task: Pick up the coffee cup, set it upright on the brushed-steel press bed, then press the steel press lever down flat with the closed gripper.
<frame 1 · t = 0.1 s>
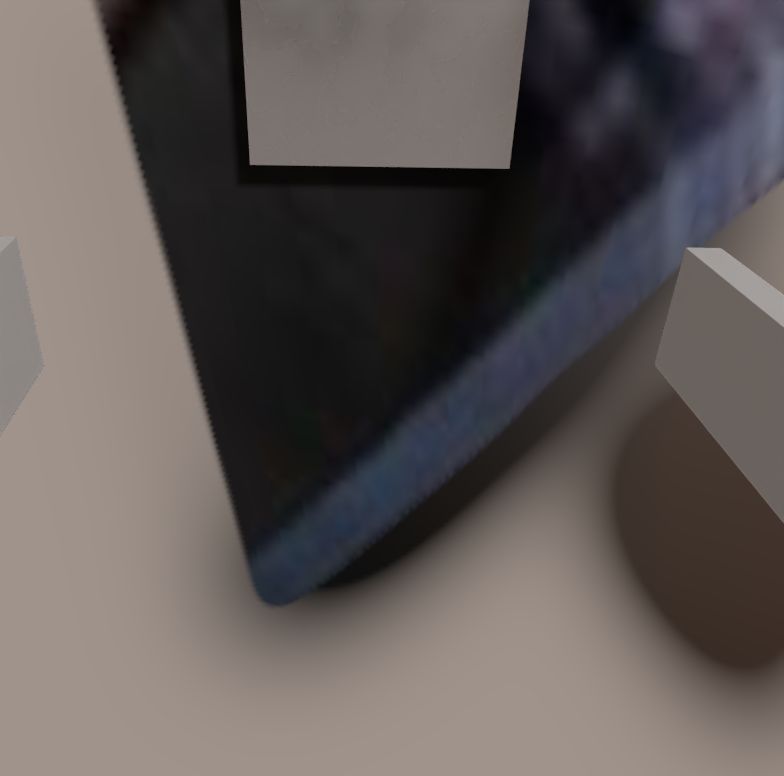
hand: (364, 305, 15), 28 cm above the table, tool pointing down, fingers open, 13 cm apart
press bed: (384, 19, 37), on the table
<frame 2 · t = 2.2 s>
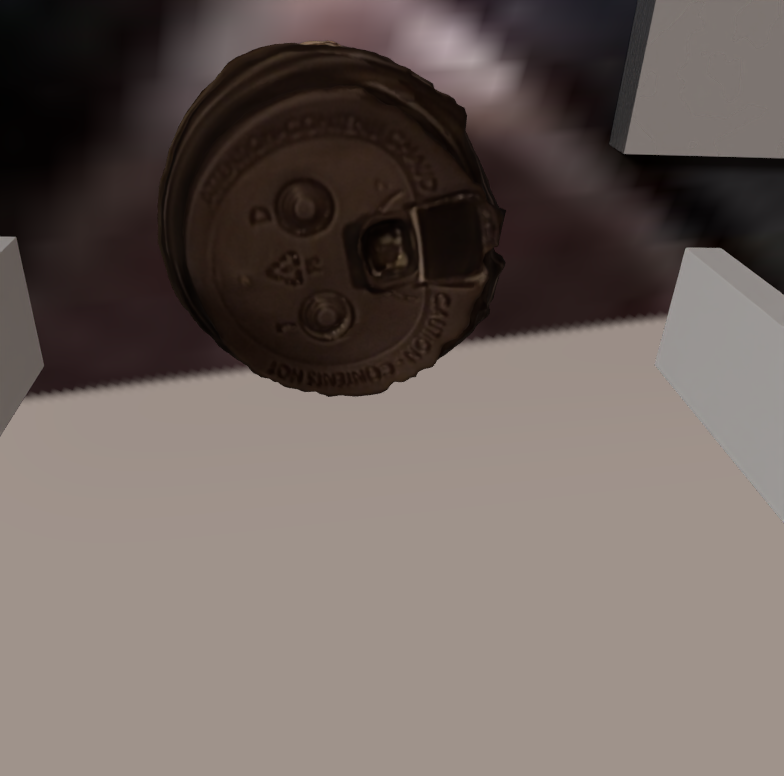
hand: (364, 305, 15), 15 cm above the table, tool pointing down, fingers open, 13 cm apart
coffee cup: (325, 134, 28), on the table
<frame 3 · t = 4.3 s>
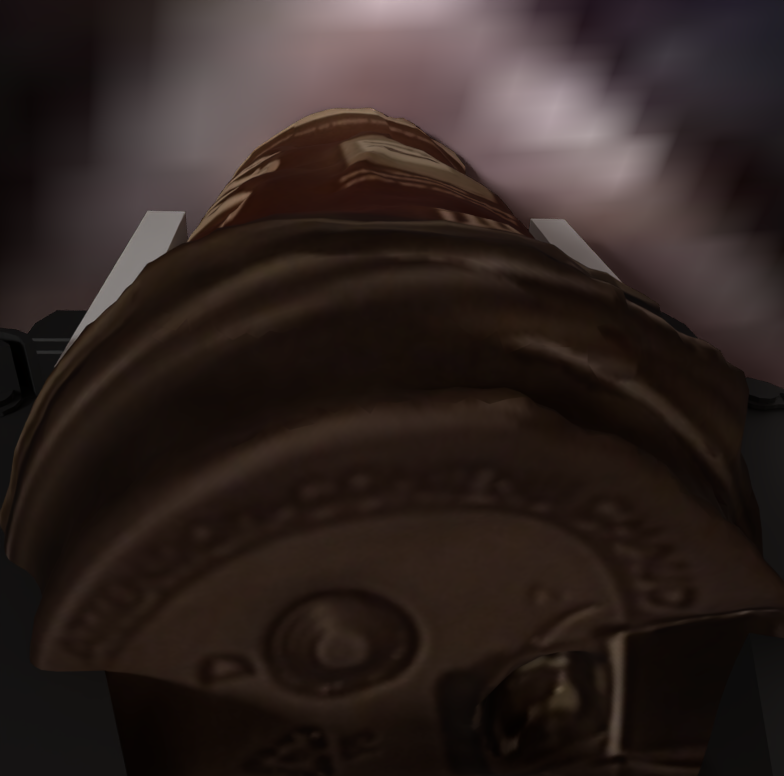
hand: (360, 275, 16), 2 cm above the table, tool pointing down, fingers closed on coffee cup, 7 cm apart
coffee cup: (356, 246, 18), on the table, touching gripper
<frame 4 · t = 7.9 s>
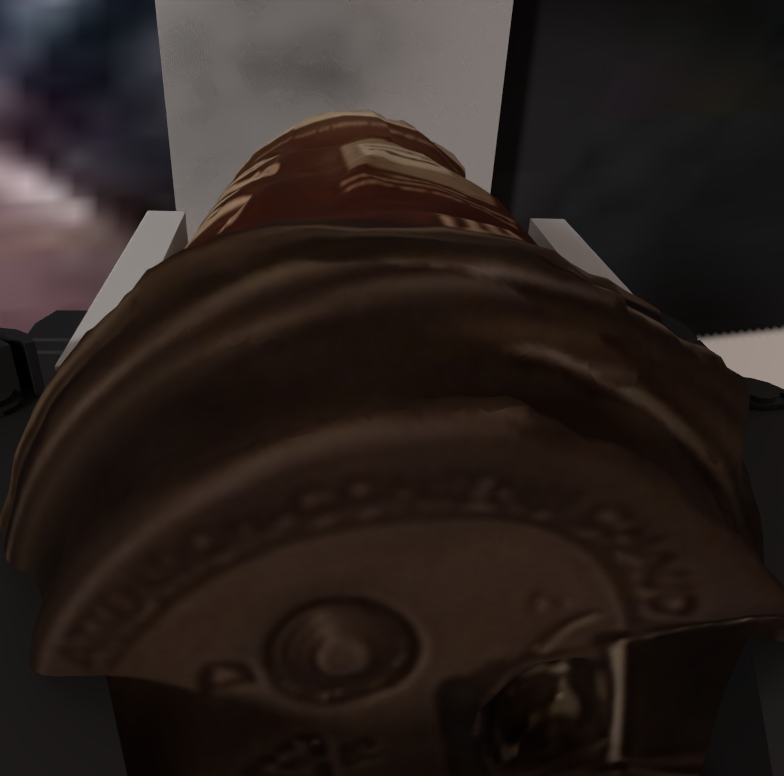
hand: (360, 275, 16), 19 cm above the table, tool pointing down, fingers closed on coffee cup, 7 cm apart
coffee cup: (356, 248, 18), point 17 cm above the table, touching gripper
press bed: (335, 108, 32), on the table
when the fingers open (5 cm above the table, at t = 11.3 s): coffee cup drops 1 cm, resting on press bed.
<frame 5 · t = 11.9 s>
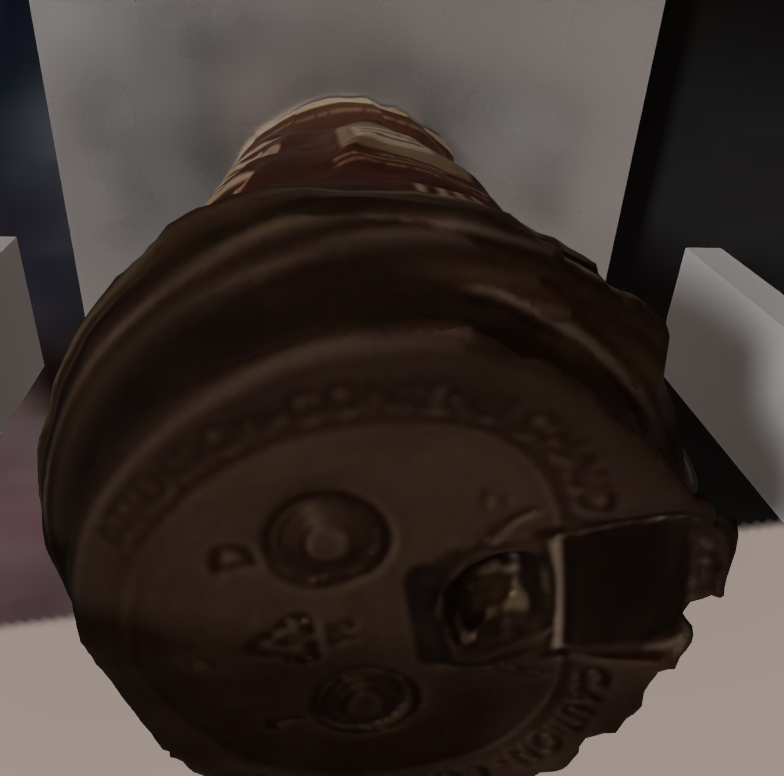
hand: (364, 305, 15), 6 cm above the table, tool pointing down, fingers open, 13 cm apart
coffee cup: (351, 227, 19), point 1 cm above the table, touching press bed
press bed: (350, 210, 20), on the table
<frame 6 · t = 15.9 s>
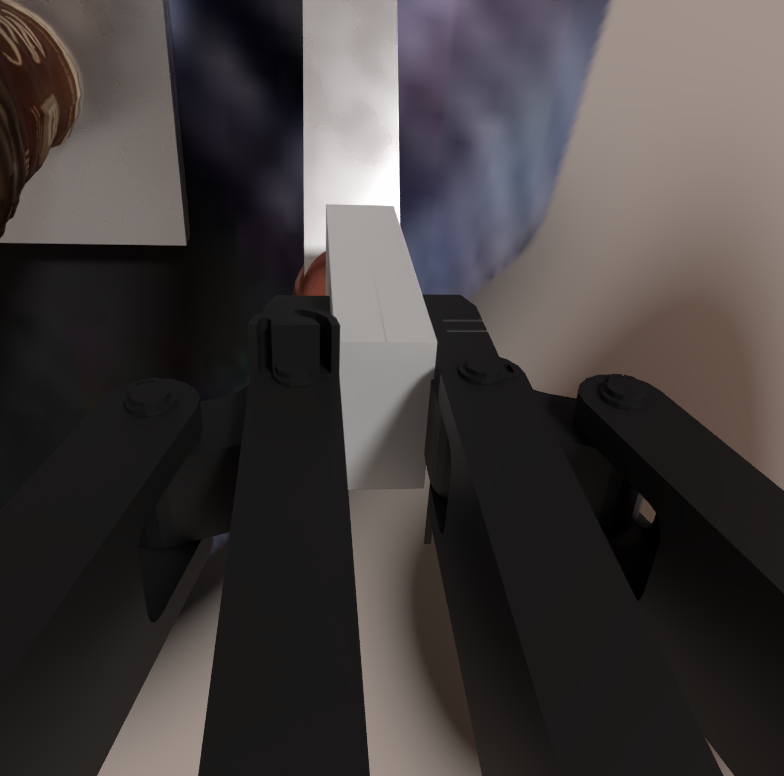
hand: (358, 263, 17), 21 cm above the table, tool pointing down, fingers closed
coffee cup: (3, 84, 32), point 1 cm above the table, touching press bed
press bed: (14, 79, 33), on the table
press lever: (349, 79, 20), point 15 cm above the table, hinge at 34.6°, touching gripper
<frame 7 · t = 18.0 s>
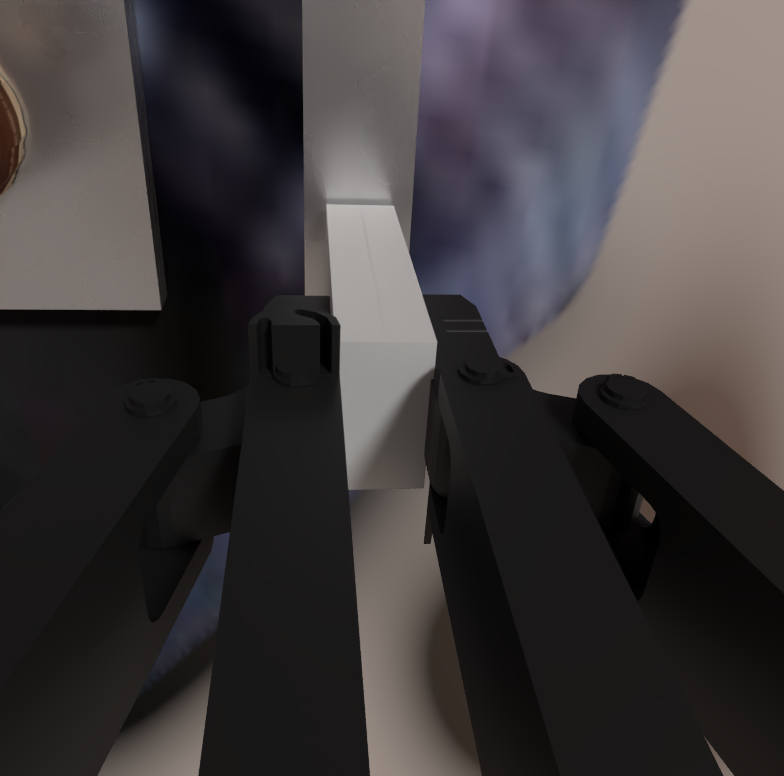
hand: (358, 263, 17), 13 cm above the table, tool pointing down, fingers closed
press lever: (357, 158, 17), point 12 cm above the table, hinge at 1.0°, touching gripper
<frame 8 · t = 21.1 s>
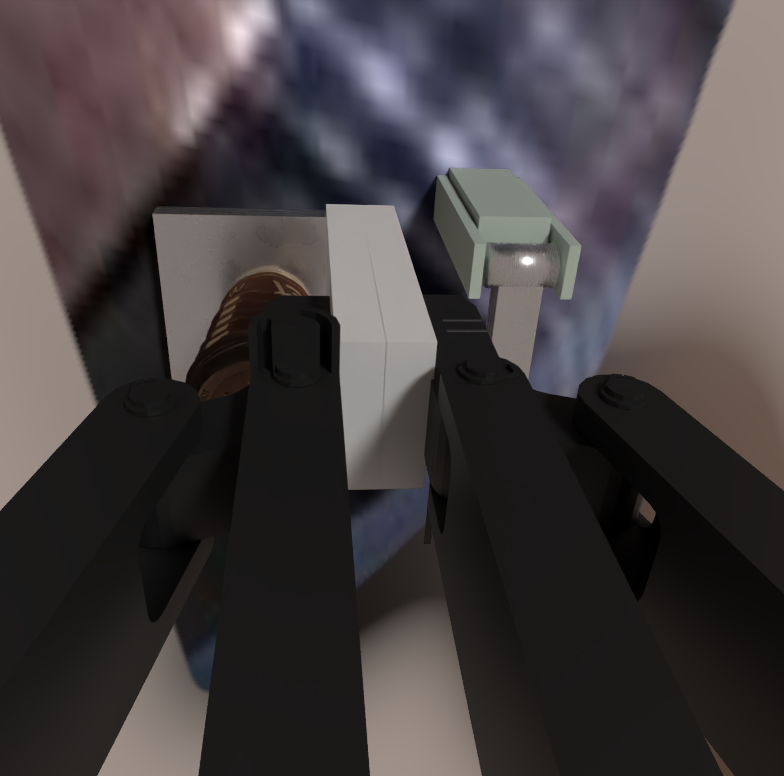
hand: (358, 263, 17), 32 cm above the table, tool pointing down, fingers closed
coffee cup: (268, 313, 51), point 1 cm above the table, touching press bed
press column: (476, 198, 50), on the table
press bed: (269, 306, 52), on the table
press lever: (505, 366, 43), point 12 cm above the table, hinge at 0.9°
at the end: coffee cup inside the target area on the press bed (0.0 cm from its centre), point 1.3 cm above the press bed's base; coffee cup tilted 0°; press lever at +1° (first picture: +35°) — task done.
